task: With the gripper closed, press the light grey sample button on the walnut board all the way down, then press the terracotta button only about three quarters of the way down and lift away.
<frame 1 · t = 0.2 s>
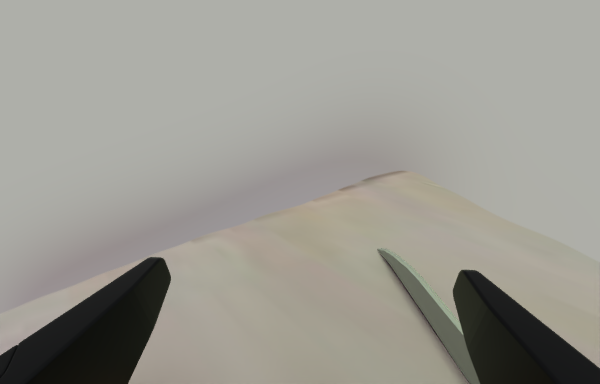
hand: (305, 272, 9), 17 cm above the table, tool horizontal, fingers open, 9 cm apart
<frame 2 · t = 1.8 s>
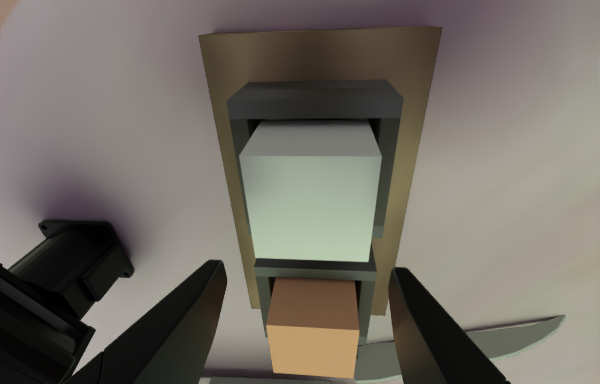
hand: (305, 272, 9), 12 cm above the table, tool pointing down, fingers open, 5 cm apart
kitchen knife: (401, 337, 31), on the table
terracotta button: (314, 322, 18), point 7 cm above the table, slide at 0.0 cm
button board: (317, 197, 22), on the table
grey button: (312, 188, 13), point 7 cm above the table, slide at 0.0 cm
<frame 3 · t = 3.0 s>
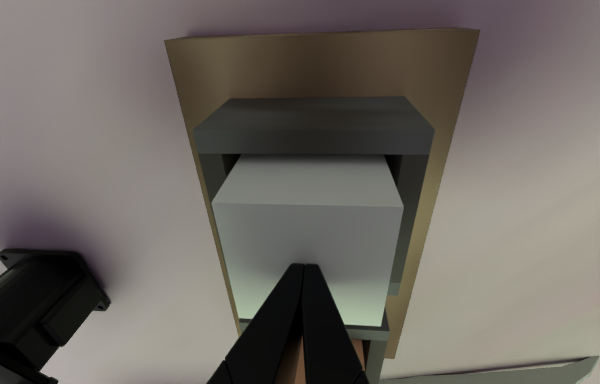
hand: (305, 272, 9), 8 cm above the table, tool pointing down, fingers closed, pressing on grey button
kitchen knife: (410, 373, 27), on the table
button board: (316, 228, 18), on the table
grey button: (310, 230, 10), point 6 cm above the table, slide at 0.7 cm, touching gripper
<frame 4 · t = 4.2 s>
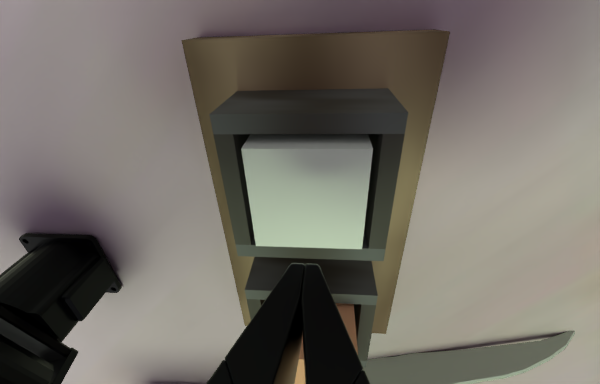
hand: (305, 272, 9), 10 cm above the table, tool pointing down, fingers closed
kitchen knife: (402, 351, 29), on the table
terracotta button: (309, 347, 17), point 7 cm above the table, slide at 0.0 cm
button board: (313, 210, 20), on the table
grey button: (309, 180, 14), point 4 cm above the table, slide at 2.5 cm
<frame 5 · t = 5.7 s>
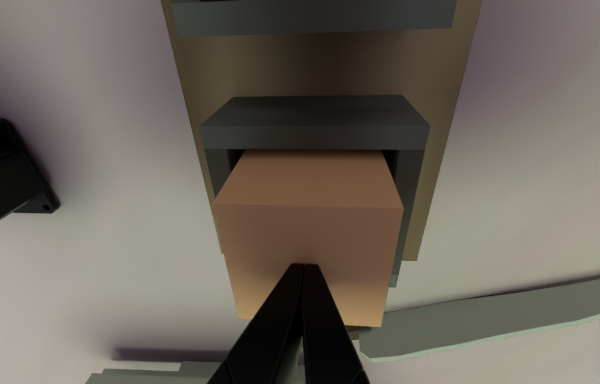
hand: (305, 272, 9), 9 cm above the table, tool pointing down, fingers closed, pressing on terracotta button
kitchen knife: (430, 301, 23), on the table
terracotta button: (310, 231, 10), point 7 cm above the table, slide at 0.3 cm, touching gripper
button board: (317, 57, 13), on the table
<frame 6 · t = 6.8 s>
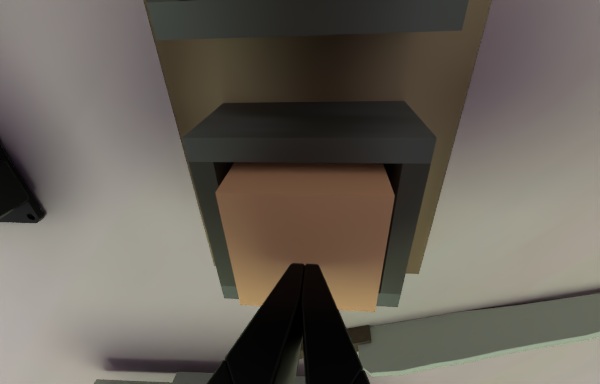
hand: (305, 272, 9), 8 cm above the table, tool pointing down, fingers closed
kitchen knife: (432, 312, 22), on the table
terracotta button: (308, 221, 11), point 5 cm above the table, slide at 1.8 cm
button board: (313, 60, 13), on the table
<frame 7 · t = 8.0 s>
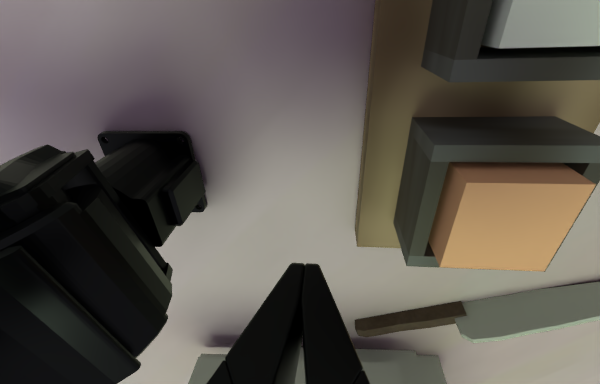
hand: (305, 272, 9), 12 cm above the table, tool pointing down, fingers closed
kitchen knife: (518, 289, 26), on the table
toaster: (311, 373, 36), on the table
terracotta button: (488, 205, 15), point 5 cm above the table, slide at 1.8 cm
button board: (473, 84, 16), on the table
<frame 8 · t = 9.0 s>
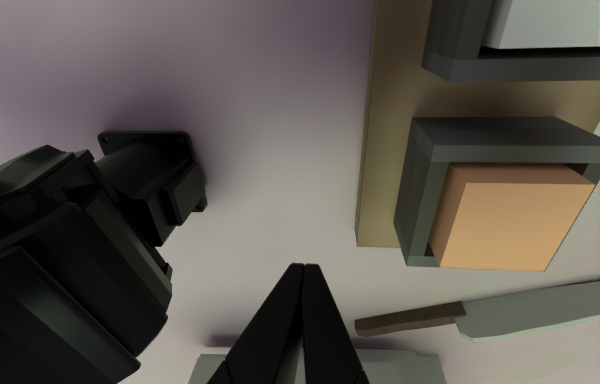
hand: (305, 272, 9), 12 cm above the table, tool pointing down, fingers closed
kitchen knife: (517, 289, 26), on the table
toaster: (311, 373, 36), on the table
terracotta button: (487, 206, 15), point 5 cm above the table, slide at 1.8 cm
button board: (473, 84, 17), on the table
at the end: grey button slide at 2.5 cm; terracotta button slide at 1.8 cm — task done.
